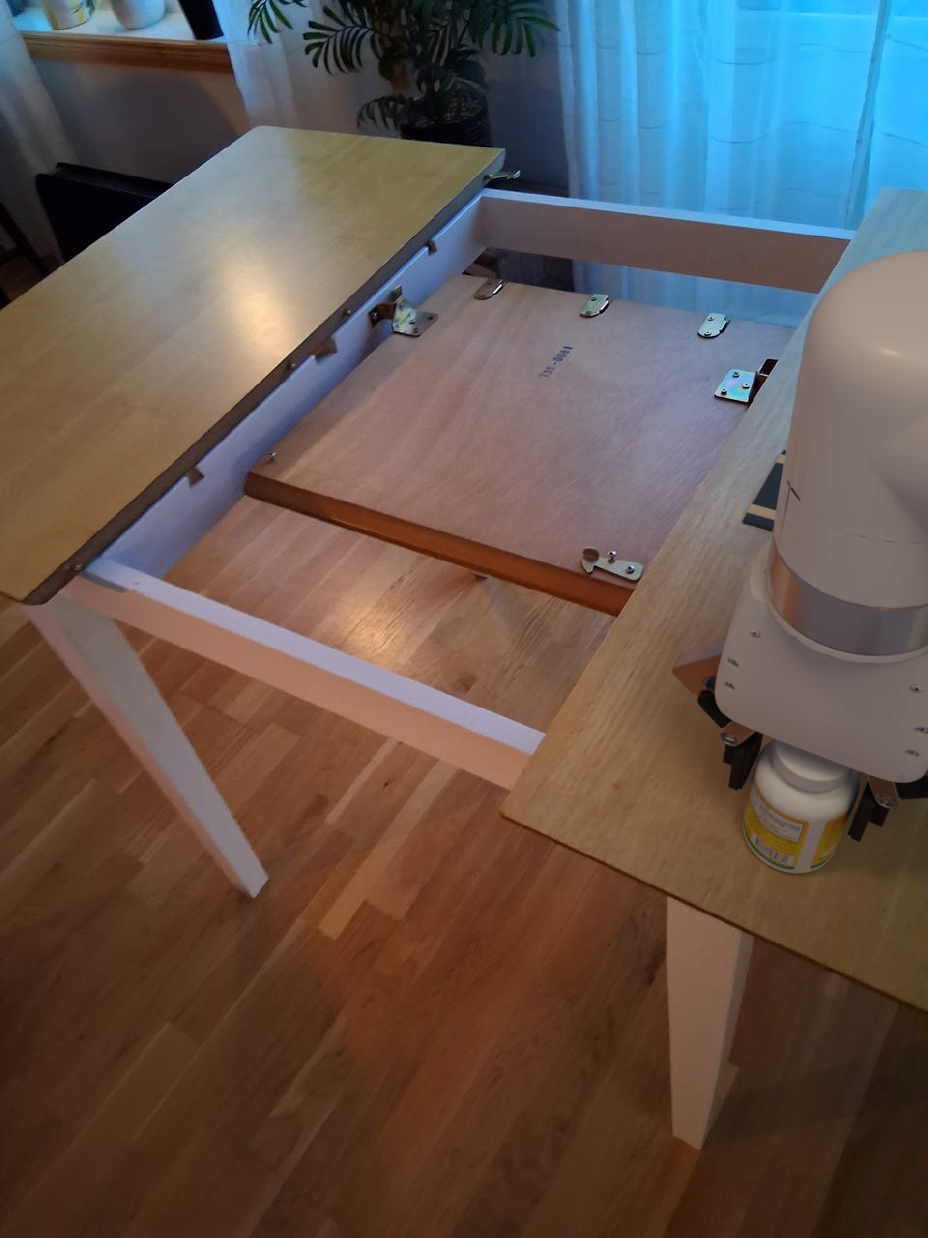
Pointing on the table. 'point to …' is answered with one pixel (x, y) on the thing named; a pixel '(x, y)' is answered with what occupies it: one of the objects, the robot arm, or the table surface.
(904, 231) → the table surface
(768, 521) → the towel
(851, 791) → the supplement bottle
